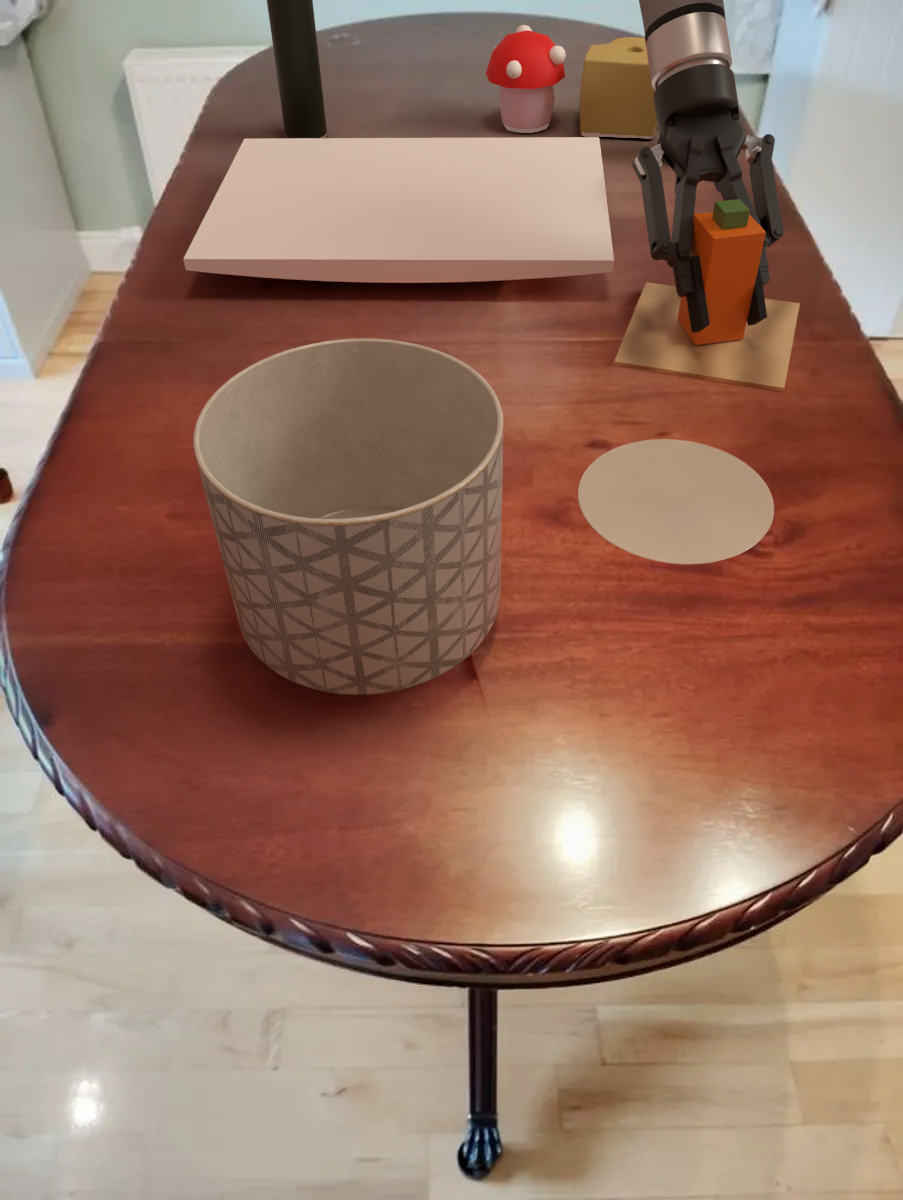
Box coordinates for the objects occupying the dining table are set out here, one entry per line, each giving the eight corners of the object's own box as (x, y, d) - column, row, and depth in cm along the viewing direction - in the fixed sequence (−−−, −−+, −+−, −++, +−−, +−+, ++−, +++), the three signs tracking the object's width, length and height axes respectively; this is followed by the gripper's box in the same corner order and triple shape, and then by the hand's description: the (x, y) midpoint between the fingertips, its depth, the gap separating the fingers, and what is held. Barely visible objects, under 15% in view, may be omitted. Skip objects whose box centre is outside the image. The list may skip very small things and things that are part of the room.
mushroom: (558, 142, 136) (564, 45, 127) (479, 138, 137) (479, 42, 129) (566, 112, 143) (571, 19, 134) (490, 109, 145) (491, 17, 136)
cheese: (585, 110, 143) (590, 33, 136) (661, 114, 142) (670, 36, 135) (576, 139, 136) (581, 59, 129) (656, 143, 135) (665, 63, 127)
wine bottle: (316, 126, 142) (286, -132, 120) (334, 139, 138) (306, -124, 117) (279, 135, 140) (242, -126, 118) (296, 149, 136) (261, -117, 115)
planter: (522, 554, 79) (530, 354, 66) (466, 746, 66) (462, 545, 53) (297, 520, 83) (262, 323, 70) (202, 695, 70) (137, 495, 57)
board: (596, 174, 128) (599, 137, 125) (610, 302, 106) (614, 260, 102) (250, 175, 131) (244, 138, 127) (192, 299, 108) (183, 259, 105)
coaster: (797, 311, 104) (800, 303, 103) (782, 396, 93) (784, 387, 92) (644, 290, 107) (645, 281, 107) (613, 369, 97) (614, 361, 96)
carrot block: (723, 313, 101) (747, 191, 92) (743, 339, 98) (769, 214, 89) (676, 319, 101) (696, 196, 92) (695, 345, 97) (716, 220, 88)
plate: (782, 462, 86) (783, 457, 86) (761, 587, 76) (762, 582, 75) (600, 430, 90) (601, 425, 90) (556, 545, 80) (556, 540, 79)
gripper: (764, 91, 99) (799, 323, 100) (590, 109, 97) (626, 346, 98) (800, 50, 92) (837, 302, 92) (612, 68, 90) (651, 326, 90)
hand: (729, 324), depth 95 cm, fingers closed on carrot block, 5 cm apart
